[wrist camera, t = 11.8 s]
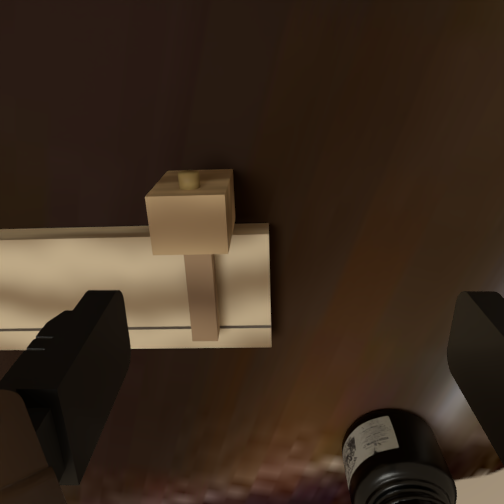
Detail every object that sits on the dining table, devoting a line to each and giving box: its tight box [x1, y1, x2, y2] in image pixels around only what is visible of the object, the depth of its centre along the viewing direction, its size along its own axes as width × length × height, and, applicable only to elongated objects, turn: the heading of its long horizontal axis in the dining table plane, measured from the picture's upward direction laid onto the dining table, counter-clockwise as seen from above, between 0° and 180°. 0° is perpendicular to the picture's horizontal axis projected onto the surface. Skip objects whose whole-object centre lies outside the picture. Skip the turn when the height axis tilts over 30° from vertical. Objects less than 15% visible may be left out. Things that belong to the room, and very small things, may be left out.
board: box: [0, 223, 271, 350], centre depth 38 cm, size 10×28×2 cm, turn 92°
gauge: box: [145, 169, 235, 341], centre depth 34 cm, size 14×5×7 cm, turn 2°
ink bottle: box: [342, 410, 457, 504], centre depth 40 cm, size 10×9×12 cm
